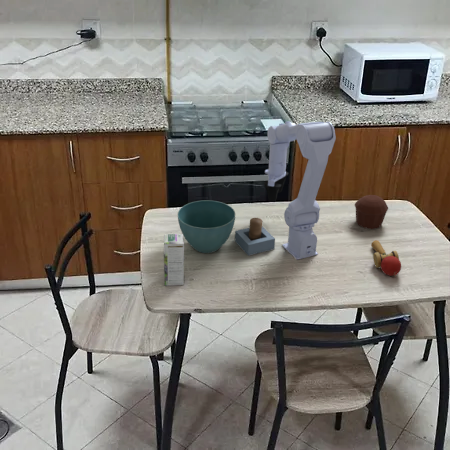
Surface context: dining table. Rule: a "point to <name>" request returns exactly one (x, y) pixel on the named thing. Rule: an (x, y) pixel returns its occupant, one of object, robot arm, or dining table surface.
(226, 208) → the teal bowl
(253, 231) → the peg
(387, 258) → the kendama
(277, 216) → the dining table surface
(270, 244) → the socket
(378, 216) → the muffin
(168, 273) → the syrup box
